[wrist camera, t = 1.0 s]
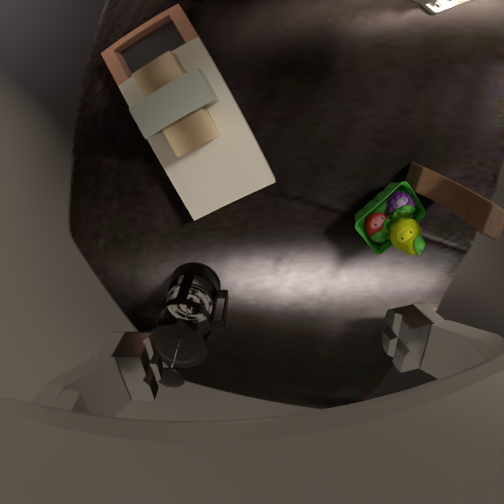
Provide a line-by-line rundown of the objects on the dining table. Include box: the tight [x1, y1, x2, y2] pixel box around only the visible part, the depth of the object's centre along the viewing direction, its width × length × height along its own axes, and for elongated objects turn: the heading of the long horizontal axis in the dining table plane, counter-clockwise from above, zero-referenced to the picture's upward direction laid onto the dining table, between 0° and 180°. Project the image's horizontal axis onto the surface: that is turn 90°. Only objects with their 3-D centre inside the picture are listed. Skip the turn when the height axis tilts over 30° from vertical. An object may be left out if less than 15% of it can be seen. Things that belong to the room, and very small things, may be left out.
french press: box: [151, 262, 228, 388], centre depth 45 cm, size 12×9×23 cm
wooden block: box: [405, 162, 504, 240], centre depth 37 cm, size 9×4×18 cm, turn 77°
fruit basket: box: [355, 182, 425, 256], centre depth 43 cm, size 11×9×11 cm
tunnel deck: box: [101, 4, 276, 221], centre depth 37 cm, size 14×32×8 cm, turn 26°
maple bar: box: [132, 51, 220, 158], centre depth 36 cm, size 6×14×4 cm, turn 26°
